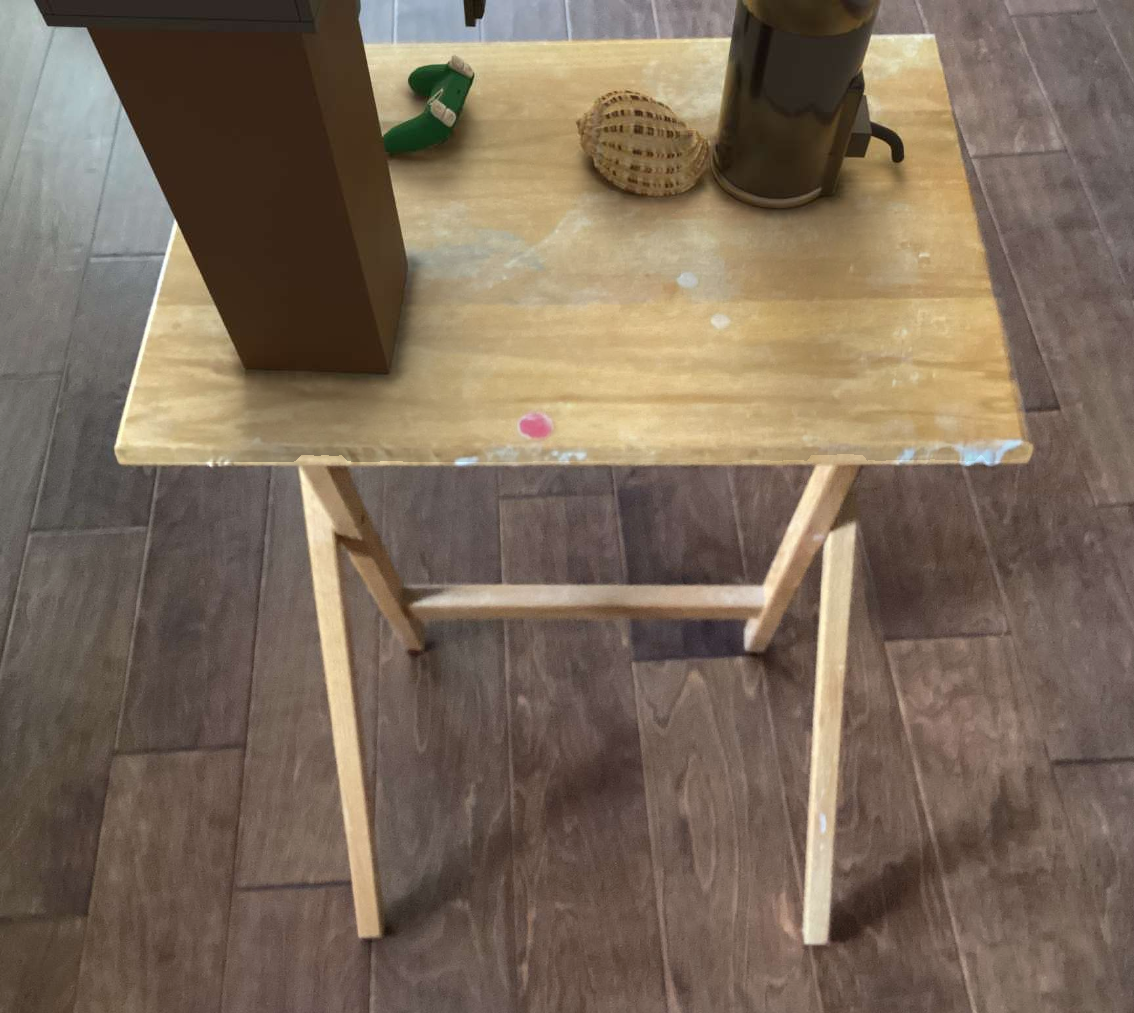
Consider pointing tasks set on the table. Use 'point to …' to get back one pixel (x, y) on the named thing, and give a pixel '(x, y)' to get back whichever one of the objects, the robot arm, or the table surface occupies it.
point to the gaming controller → (433, 106)
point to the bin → (265, 166)
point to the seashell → (642, 144)
